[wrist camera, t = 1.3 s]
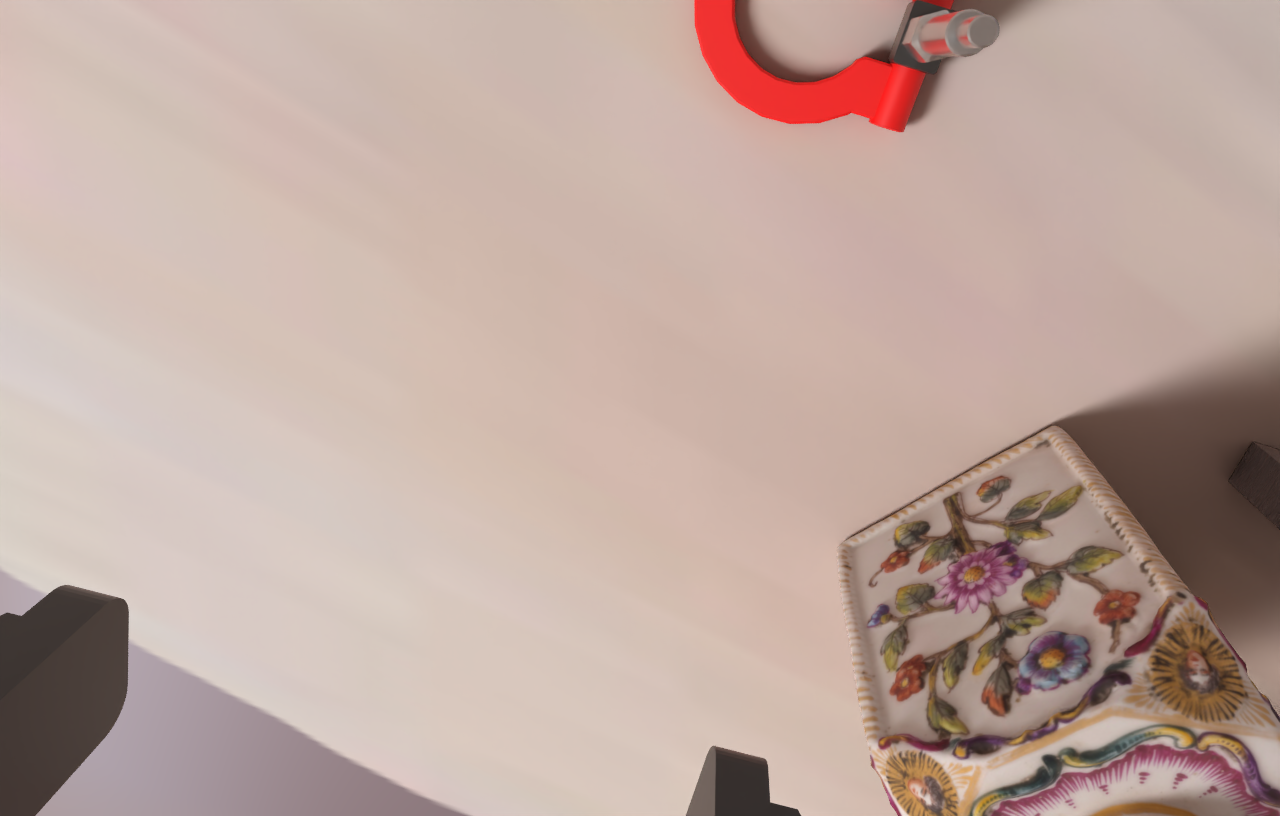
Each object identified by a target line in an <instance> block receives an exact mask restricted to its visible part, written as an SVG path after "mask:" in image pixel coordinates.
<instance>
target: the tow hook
mask: <svg viewBox="0 0 1280 816" xmlns="http://www.w3.org/2000/svg"><path fill="white" fill-rule="evenodd" d="M953 1H954V0H913V2H911V3H909V4H908V6H907V9H906V11H905V14H904V17H903V20H902V22H901V25H900V28H899V31H898V33H897V36H896V39H895V42H894V44H893V47H892V50H891V52H890V55H889V58H888V60H889V62H891V63H890V64H888V63H885V62H882V61H878V60H875V59H872V58H868V57H862V58H859V59H856V60H855V61H854V62H853V63H852V65H851V66H849V67H847V68H846V69H844V70H843V71H841V72H839V73H838V74H836V75H834V76H832V77H829V78H826V79H823V80H819V81H816V82H792V81H788V80H784V79H781V78H777V77H776V76H774V75H772V74H771V73H769V72H767V71H765V70H764V69H762V68H761V67H760V66H759V65H758V64H757V63H756V62H755V61H754V60H753V59H752V57H751V56H750V55H749V54H748V52H747V50H746V48H745V47H744V45H743V43H742V41H741V39H740V36H739V32H738V28H737V24H736V20H735V0H695V28H696V32H697V36H698V39H699V43H700V47H701V51H702V55H703V57H704V59H705V61H706V62H707V64H708V66H709V68H710V70H711V71H712V73H713V75H714V77H715V79H716V80H717V82H718V83H719V84H720V85H721V86H722V87H723V88H724V89H725V90H726V91H727V92H728V93H729V94H730V95H731V96H732V97H733V98H734V99H735V100H736V101H737V102H738V103H739V104H741V105H743V106H745V107H746V108H748V109H750V110H751V111H753V112H755V113H757V114H758V115H760V116H762V117H765V118H769V119H773V120H777V121H781V122H785V123H789V124H803V123H821V122H824V121H828V120H831V119H835V118H838V117H841V116H845V115H848V114H850V113H854V114H857V115H860V116H864V117H867V118H870V119H869V122H870V123H872V124H874V125H877V126H880V127H883V128H886V129H889V130H893V131H896V132H904V129H905V126H906V124H907V121H908V119H909V116H910V113H911V111H912V108H913V106H914V103H915V100H916V98H917V95H918V93H919V90H920V87H921V85H922V82H923V80H924V77H925V74H926V73H929V74H935V73H936V72H937V70H938V67H939V65H940V62H941V60H942V59H943V58H947V57H951V56H960V57H966V56H972V55H974V54H977V53H978V52H979V51H981V50H982V49H983V48H985V47H988V46H990V45H991V44H993V43H994V42H995V40H996V39H997V37H998V35H999V29H1000V27H999V23H998V21H997V19H995V18H994V17H993V16H991V15H987V14H984V13H983V12H981V11H979V10H976V9H966V10H961V11H954V10H950V9H951V7H952V4H953Z"/></svg>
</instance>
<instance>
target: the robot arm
mask: <svg viewBox="0 0 1280 816" xmlns="http://www.w3.org/2000/svg"><path fill="white" fill-rule="evenodd" d="M128 625H129V611H128V605H127V603H126V601H125V600H124V599H121V598H118V597H114V596H110V595H106V594H102V593H98V592H94V591H90V590H86V589H82V588H78V587H74V586H70V585H63V586H60V587H58V588H56V589H55V590H53V591H52V592H51V593H49V594H48V595H47V596H46V597H44V598H43V599H42V600H41V601H40V602H38V603H37V604H36V605H35V606H33V607H32V608H31V609H30V610H29V611H27V612H26V613H25V614H24V615H22V616H18V615H15V614H10V613H6V614H3V615H1V616H0V816H35V815H36V814H37V813H38V812H39V811H40V810H41V809H42V808H43V806H44V805H45V804H46V803H47V802H48V801H49V800H50V799H51V797H52V796H53V795H54V794H55V793H56V792H57V791H58V790H59V788H60V787H61V786H62V785H63V784H64V783H65V782H66V781H67V780H68V778H69V777H70V776H71V775H72V774H73V773H74V772H75V771H76V769H77V768H78V767H79V766H80V765H81V764H82V763H83V762H84V760H85V759H86V758H87V757H88V756H89V755H90V754H91V752H92V751H93V750H94V749H95V748H96V747H97V746H98V745H99V744H100V742H101V741H102V740H103V739H104V738H105V737H106V736H107V734H108V733H109V732H110V730H111V729H112V727H113V726H114V724H115V722H116V720H117V718H118V717H119V714H120V712H121V710H122V707H123V704H124V701H125V698H126V694H127V686H128ZM686 816H801V815H800V813H799V811H798V809H794V808H790V807H786V806H782V805H778V804H774V803H770V793H769V776H768V765H767V761H766V760H765V759H764V758H760V757H756V756H752V755H748V754H744V753H740V752H736V751H732V750H728V749H724V748H720V747H716V746H712V747H711V748H710V750H709V752H708V754H707V757H706V760H705V763H704V765H703V768H702V771H701V774H700V777H699V780H698V783H697V785H696V788H695V791H694V794H693V797H692V800H691V803H690V805H689V808H688V811H687V814H686Z"/></svg>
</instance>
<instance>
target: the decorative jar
mask: <svg viewBox="0 0 1280 816" xmlns="http://www.w3.org/2000/svg"><path fill="white" fill-rule="evenodd" d="M837 564H838V574H839V582H840V593H841V599H842V606H843V612H844V617H845V623H846V628H847V633H848V638H849V643H850V649H851V656H852V664H853V671H854V675H855V682H856V689H857V693H858V700H859V706H860V709H861V715H862V720H863V725H864V729H865V736H866V739H867V744H868V747H869V750H870V758H871V766H872V767H873V768H874V769H875V770H876V772H877V773H878V775H879V776H880V778H881V781H882V784H883V787H884V789H885V791H886V793H887V795H888V798H889V801H890V804H891V805H892V807H893V808H894V810H895V811H896V813H897V815H898V816H1280V717H1279V716H1278V714H1277V713H1276V712H1275V710H1274V709H1273V707H1272V705H1271V703H1270V701H1269V699H1268V698H1267V697H1266V696H1265V695H1263V694H1261V693H1260V692H1259V691H1258V689H1257V687H1256V686H1255V685H1254V683H1253V682H1252V681H1251V680H1250V678H1249V677H1248V675H1247V668H1246V664H1245V663H1244V661H1243V660H1242V659H1241V658H1240V657H1239V655H1238V654H1237V653H1236V651H1235V650H1234V649H1233V647H1232V646H1231V645H1230V643H1229V642H1228V641H1227V639H1226V638H1225V636H1224V635H1223V633H1222V632H1221V630H1220V629H1219V627H1218V626H1217V625H1216V623H1215V621H1214V619H1213V617H1212V614H1211V612H1210V610H1209V607H1208V604H1207V603H1206V602H1205V601H1204V600H1203V599H1201V598H1199V597H1196V596H1194V595H1192V593H1191V592H1190V590H1189V588H1188V587H1187V586H1186V585H1185V584H1184V582H1183V581H1182V580H1181V579H1180V578H1179V576H1178V575H1177V574H1176V572H1175V571H1174V570H1173V568H1172V567H1171V566H1170V564H1169V563H1168V562H1167V560H1166V559H1165V558H1164V557H1163V555H1162V554H1161V552H1160V551H1159V550H1158V549H1157V547H1156V545H1155V544H1154V542H1153V541H1152V540H1151V538H1150V536H1149V535H1148V534H1147V532H1146V531H1145V530H1144V528H1143V527H1142V526H1141V525H1140V523H1139V522H1138V521H1137V520H1136V518H1135V517H1134V516H1133V514H1132V513H1131V512H1130V510H1129V509H1128V507H1127V506H1126V505H1125V504H1124V502H1123V501H1122V500H1121V499H1120V497H1119V496H1118V495H1117V494H1116V492H1115V491H1114V490H1113V489H1112V487H1111V486H1110V485H1109V484H1108V482H1107V481H1106V480H1105V478H1104V477H1103V476H1102V474H1101V473H1100V472H1099V471H1098V470H1097V468H1096V467H1095V466H1094V465H1093V463H1092V462H1091V461H1090V460H1089V458H1088V457H1087V456H1086V455H1085V453H1084V452H1083V451H1082V449H1081V448H1080V447H1079V446H1078V445H1077V443H1076V442H1075V441H1074V440H1073V439H1072V438H1071V437H1070V436H1069V435H1068V434H1067V433H1066V432H1065V431H1064V430H1063V429H1061V428H1060V427H1058V426H1050V427H1049V428H1047V429H1045V430H1043V431H1041V432H1039V433H1038V434H1036V435H1035V436H1033V437H1031V438H1028V439H1027V440H1025V441H1024V442H1022V443H1020V444H1018V445H1016V446H1014V447H1012V448H1011V449H1008V450H1006V451H1004V452H1002V453H1000V454H999V455H997V456H995V457H993V458H991V459H989V460H987V461H986V462H984V463H982V464H981V465H978V466H976V467H975V468H973V469H972V470H970V471H968V472H966V473H964V474H963V475H961V476H959V477H958V478H956V479H954V480H952V481H950V482H949V483H947V484H945V485H943V486H941V487H940V488H938V489H937V490H934V491H933V492H931V493H930V494H928V495H926V496H924V497H922V498H921V499H919V500H917V501H916V502H914V503H912V504H910V505H908V506H907V507H905V508H903V509H902V510H900V511H898V512H897V513H895V514H893V515H891V516H889V517H888V518H886V519H885V520H883V521H880V522H878V523H877V524H875V525H873V526H871V527H869V528H868V529H866V530H864V531H862V532H860V533H858V534H857V535H855V536H853V537H851V538H849V539H847V540H846V541H844V542H843V543H841V544H840V545H839V547H838V550H837Z"/></svg>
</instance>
